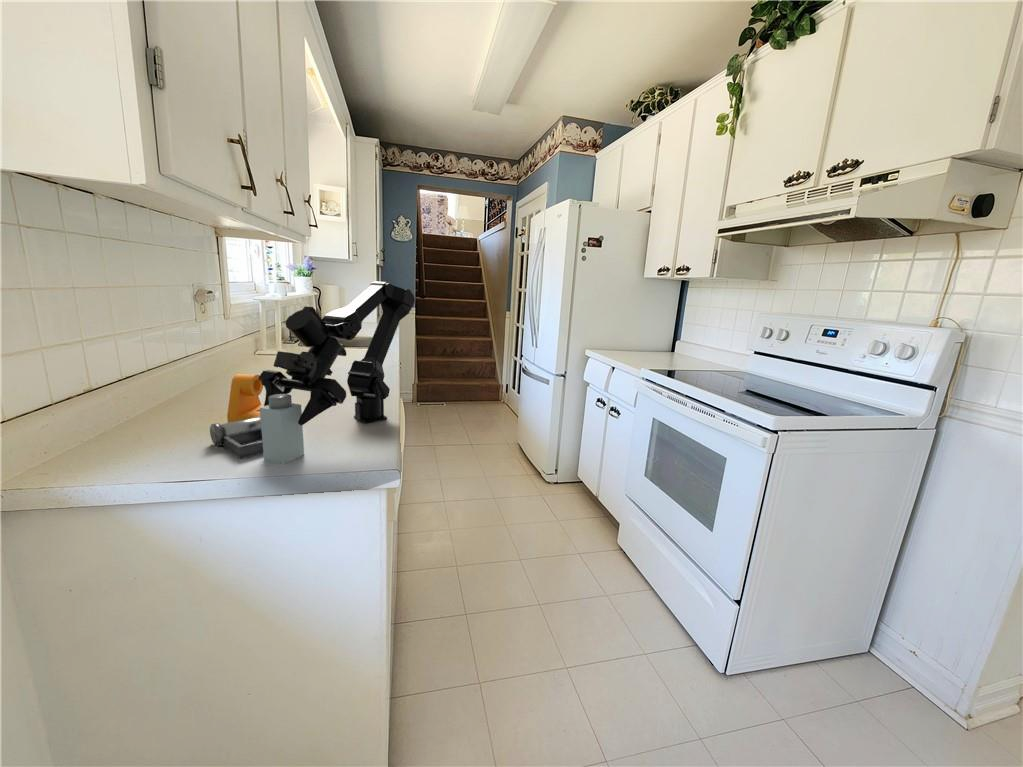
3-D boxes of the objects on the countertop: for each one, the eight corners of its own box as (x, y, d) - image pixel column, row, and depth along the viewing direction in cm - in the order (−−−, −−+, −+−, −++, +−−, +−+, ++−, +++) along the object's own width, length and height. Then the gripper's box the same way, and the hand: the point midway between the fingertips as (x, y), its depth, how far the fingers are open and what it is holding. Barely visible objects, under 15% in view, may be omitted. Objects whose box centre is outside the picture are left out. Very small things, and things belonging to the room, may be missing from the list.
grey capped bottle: (284, 450, 90) (280, 392, 87) (304, 454, 89) (300, 395, 86) (263, 459, 85) (258, 397, 82) (284, 463, 84) (279, 401, 81)
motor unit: (273, 428, 102) (271, 409, 101) (300, 443, 95) (299, 422, 94) (211, 442, 92) (208, 421, 91) (236, 459, 84) (234, 437, 83)
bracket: (258, 428, 102) (254, 380, 100) (228, 426, 102) (223, 378, 99) (281, 414, 113) (277, 371, 110) (253, 413, 113) (249, 369, 110)
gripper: (262, 332, 89) (217, 394, 81) (335, 340, 84) (294, 407, 76) (293, 363, 98) (256, 421, 90) (361, 372, 93) (327, 435, 85)
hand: (281, 420), depth 85 cm, fingers open, 9 cm apart
